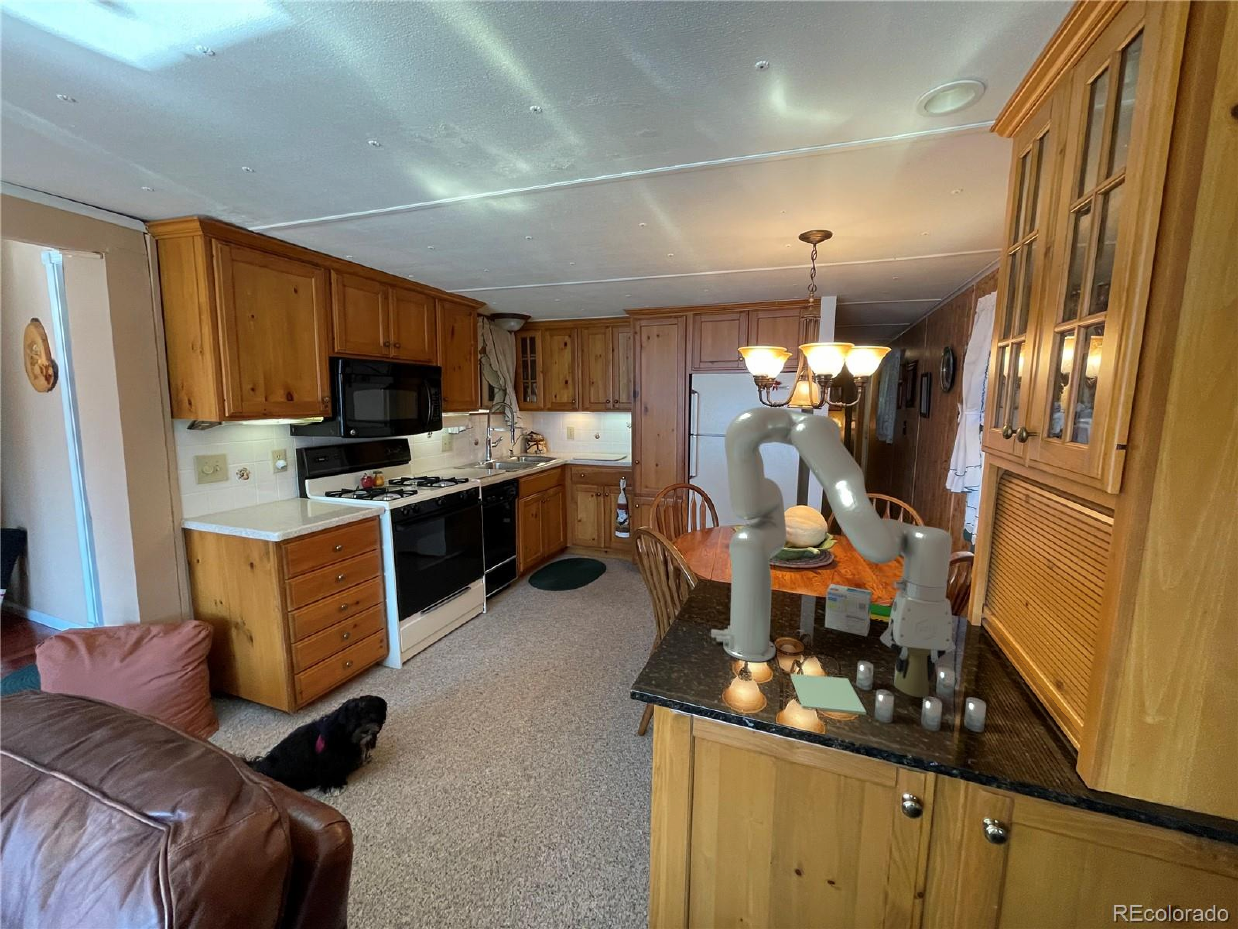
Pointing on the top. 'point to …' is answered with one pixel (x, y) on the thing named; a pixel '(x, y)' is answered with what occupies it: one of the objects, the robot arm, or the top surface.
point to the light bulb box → (848, 609)
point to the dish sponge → (880, 612)
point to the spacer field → (930, 704)
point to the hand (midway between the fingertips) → (913, 675)
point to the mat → (827, 694)
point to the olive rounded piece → (915, 674)
